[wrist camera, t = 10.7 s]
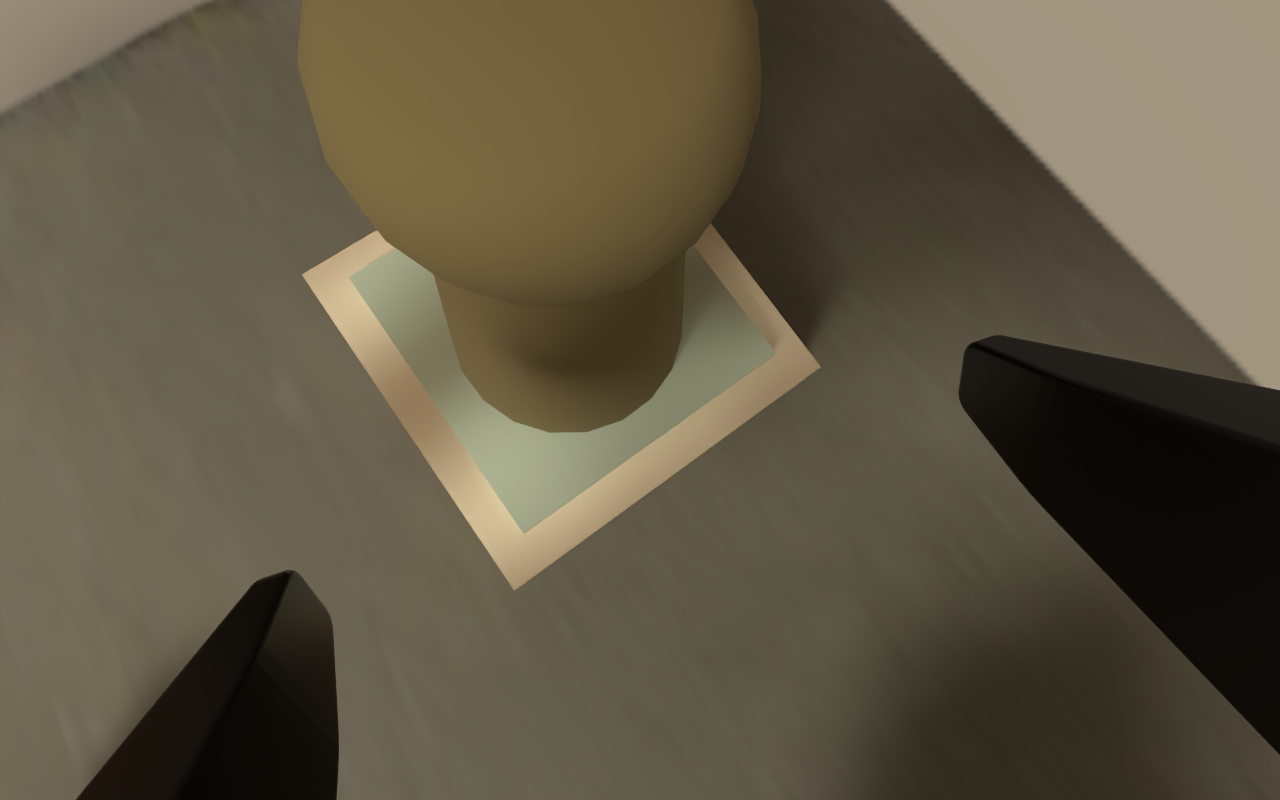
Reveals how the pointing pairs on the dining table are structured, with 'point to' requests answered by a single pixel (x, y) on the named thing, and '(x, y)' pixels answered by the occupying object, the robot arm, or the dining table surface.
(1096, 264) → the dining table surface
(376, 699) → the dining table surface
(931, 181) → the dining table surface
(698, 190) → the olive pawn piece
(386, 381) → the base block
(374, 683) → the dining table surface
